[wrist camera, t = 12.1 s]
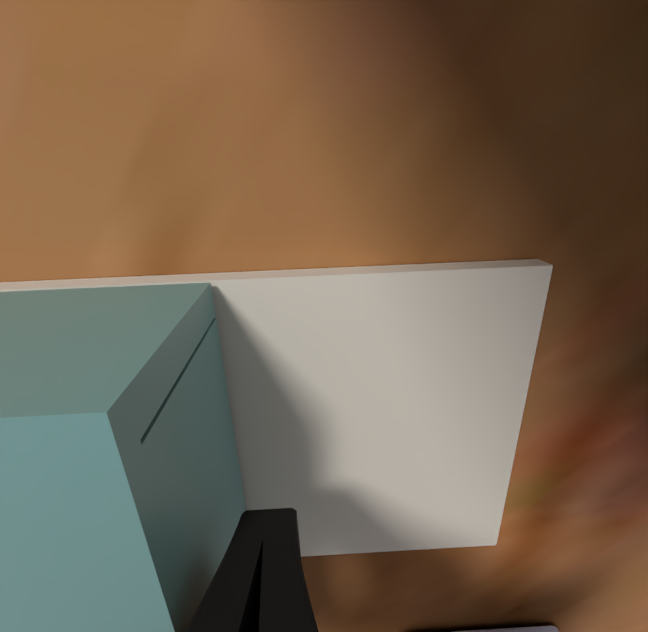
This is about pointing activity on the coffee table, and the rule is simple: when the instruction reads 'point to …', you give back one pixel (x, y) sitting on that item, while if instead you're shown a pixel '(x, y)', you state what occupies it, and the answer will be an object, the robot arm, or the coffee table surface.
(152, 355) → the cover
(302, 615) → the robot arm
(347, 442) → the base plate
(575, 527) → the coffee table surface
